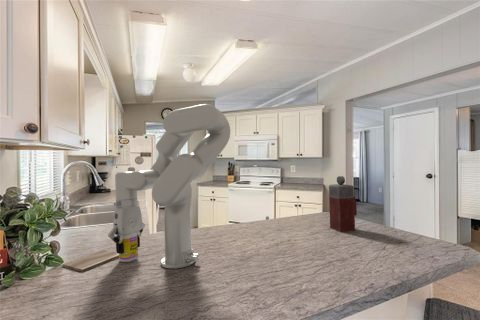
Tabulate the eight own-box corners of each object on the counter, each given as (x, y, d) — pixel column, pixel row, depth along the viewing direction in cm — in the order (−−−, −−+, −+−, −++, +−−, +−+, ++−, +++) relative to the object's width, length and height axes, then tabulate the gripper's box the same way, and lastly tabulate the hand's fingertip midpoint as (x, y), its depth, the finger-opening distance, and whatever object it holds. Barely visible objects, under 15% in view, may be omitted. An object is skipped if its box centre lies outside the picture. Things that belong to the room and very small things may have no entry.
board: (123, 255, 98) (123, 253, 98) (82, 272, 84) (82, 269, 84) (103, 251, 104) (103, 249, 104) (62, 266, 89) (62, 264, 89)
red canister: (359, 230, 126) (357, 176, 127) (340, 232, 124) (338, 176, 124) (348, 226, 135) (346, 175, 135) (329, 227, 132) (328, 176, 133)
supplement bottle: (131, 263, 90) (129, 228, 91) (115, 262, 92) (114, 228, 92) (141, 256, 97) (140, 223, 97) (127, 255, 98) (125, 223, 98)
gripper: (113, 207, 85) (114, 259, 85) (151, 200, 101) (152, 243, 100) (99, 207, 89) (100, 256, 88) (138, 199, 104) (139, 242, 104)
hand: (128, 249), depth 94 cm, fingers closed on supplement bottle, 6 cm apart
